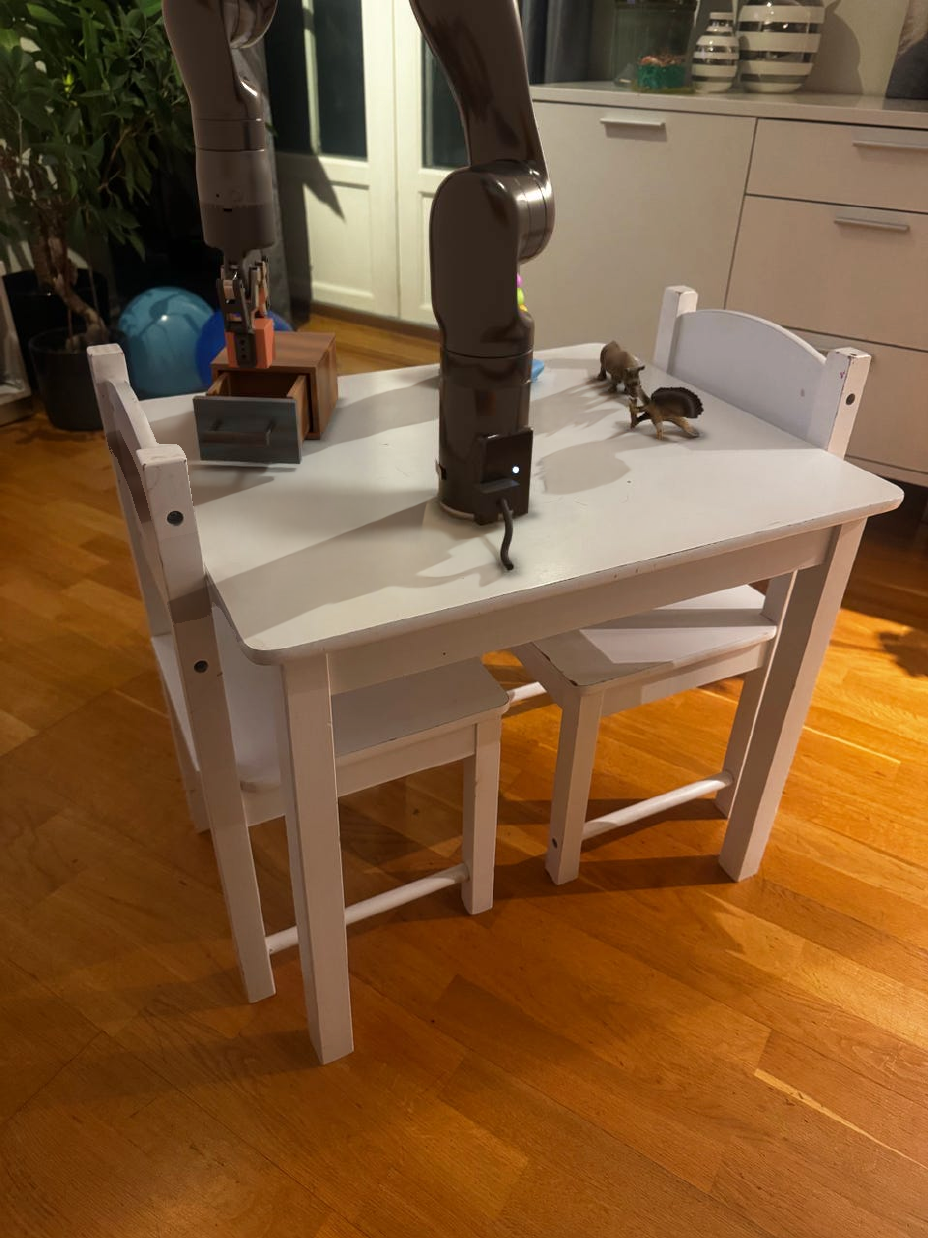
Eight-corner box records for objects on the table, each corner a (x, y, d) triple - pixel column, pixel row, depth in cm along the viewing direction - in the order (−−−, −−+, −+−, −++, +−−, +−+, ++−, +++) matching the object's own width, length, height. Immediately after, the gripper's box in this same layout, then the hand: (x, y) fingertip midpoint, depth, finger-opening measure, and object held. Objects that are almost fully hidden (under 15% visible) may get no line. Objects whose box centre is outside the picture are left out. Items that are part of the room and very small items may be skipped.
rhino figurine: (621, 408, 125) (627, 365, 122) (592, 376, 137) (596, 336, 133) (650, 407, 126) (656, 364, 123) (618, 375, 137) (623, 335, 134)
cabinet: (320, 439, 113) (315, 366, 109) (219, 435, 114) (210, 363, 109) (338, 399, 126) (335, 332, 121) (247, 396, 126) (240, 329, 121)
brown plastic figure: (631, 436, 114) (705, 428, 112) (626, 379, 114) (701, 370, 112) (631, 448, 121) (701, 440, 119) (627, 394, 121) (697, 386, 120)
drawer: (290, 483, 100) (285, 419, 96) (187, 479, 100) (177, 415, 97) (320, 421, 116) (316, 364, 112) (230, 418, 116) (224, 361, 112)
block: (267, 368, 102) (264, 329, 100) (228, 367, 102) (224, 327, 100) (276, 356, 106) (272, 318, 104) (238, 355, 106) (234, 316, 104)
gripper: (218, 185, 101) (235, 341, 110) (179, 206, 89) (202, 379, 98) (286, 187, 101) (297, 343, 110) (256, 208, 89) (272, 381, 98)
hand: (252, 359), depth 104 cm, fingers closed on block, 4 cm apart
